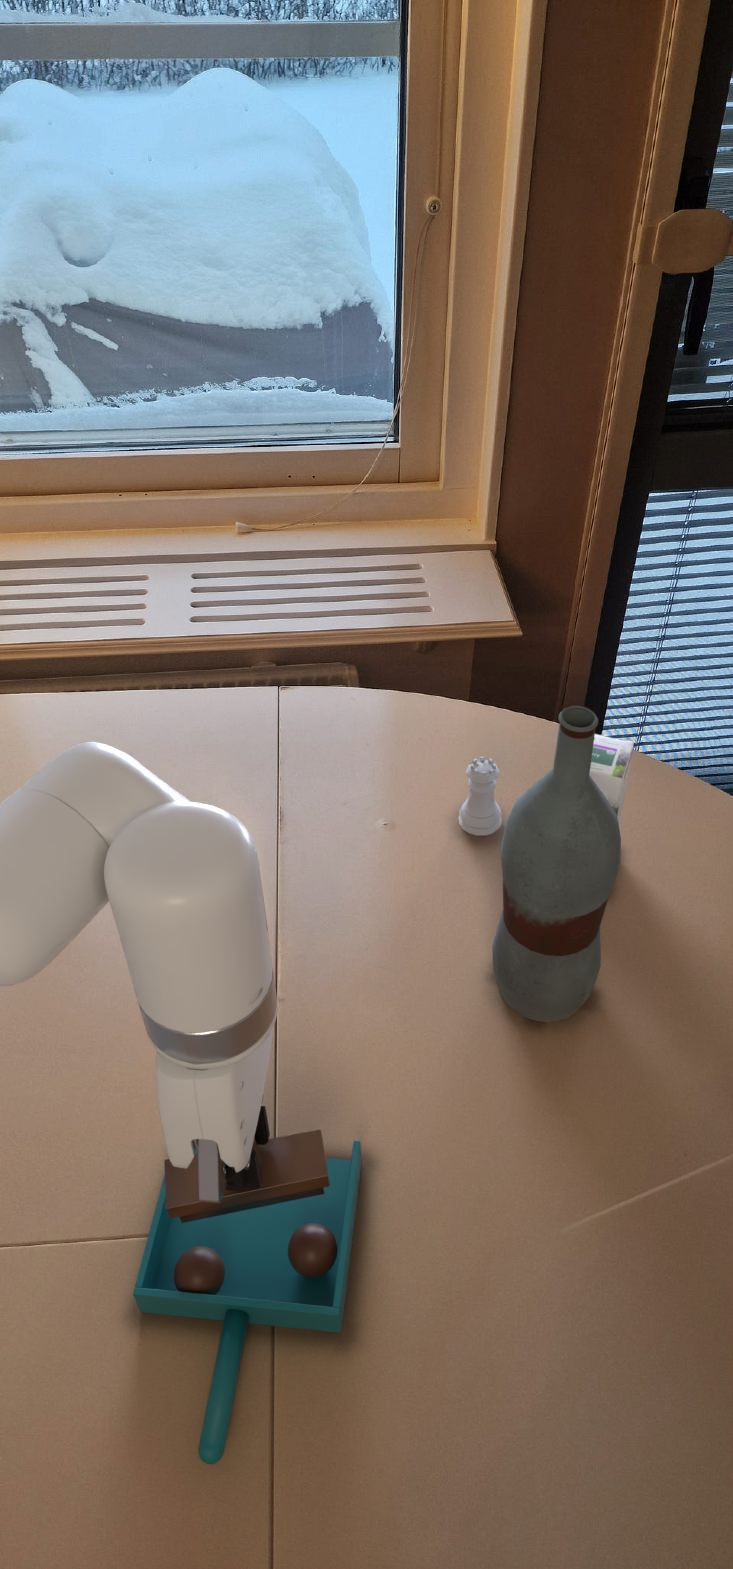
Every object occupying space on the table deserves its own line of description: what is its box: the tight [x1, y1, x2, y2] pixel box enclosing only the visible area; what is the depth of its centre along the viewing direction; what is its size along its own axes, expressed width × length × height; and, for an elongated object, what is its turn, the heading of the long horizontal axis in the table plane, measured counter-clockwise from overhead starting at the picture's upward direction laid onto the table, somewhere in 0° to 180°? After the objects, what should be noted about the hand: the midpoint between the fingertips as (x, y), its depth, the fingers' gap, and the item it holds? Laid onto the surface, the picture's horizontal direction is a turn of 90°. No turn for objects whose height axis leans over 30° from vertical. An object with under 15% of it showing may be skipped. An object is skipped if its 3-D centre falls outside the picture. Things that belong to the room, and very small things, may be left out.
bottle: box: [491, 705, 622, 1023], centre depth 81 cm, size 9×9×30 cm
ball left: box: [174, 1246, 225, 1295], centre depth 72 cm, size 4×4×4 cm
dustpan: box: [132, 1140, 363, 1466], centre depth 71 cm, size 21×14×3 cm, turn 174°
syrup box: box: [589, 733, 635, 824], centre depth 97 cm, size 6×6×14 cm
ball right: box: [288, 1223, 338, 1278], centre depth 73 cm, size 4×4×4 cm
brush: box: [163, 1128, 330, 1223], centre depth 69 cm, size 11×4×10 cm, turn 100°
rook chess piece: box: [457, 755, 503, 837], centre depth 104 cm, size 4×4×8 cm
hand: (241, 1158), depth 70 cm, fingers closed on brush, 2 cm apart
